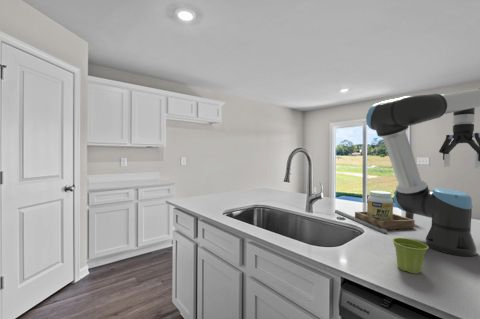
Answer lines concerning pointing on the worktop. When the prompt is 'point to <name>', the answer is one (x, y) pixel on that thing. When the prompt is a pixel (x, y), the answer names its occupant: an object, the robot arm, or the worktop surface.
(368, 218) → the wooden tray
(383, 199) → the supplement tub
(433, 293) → the worktop surface
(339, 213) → the rail
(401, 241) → the plant pot
